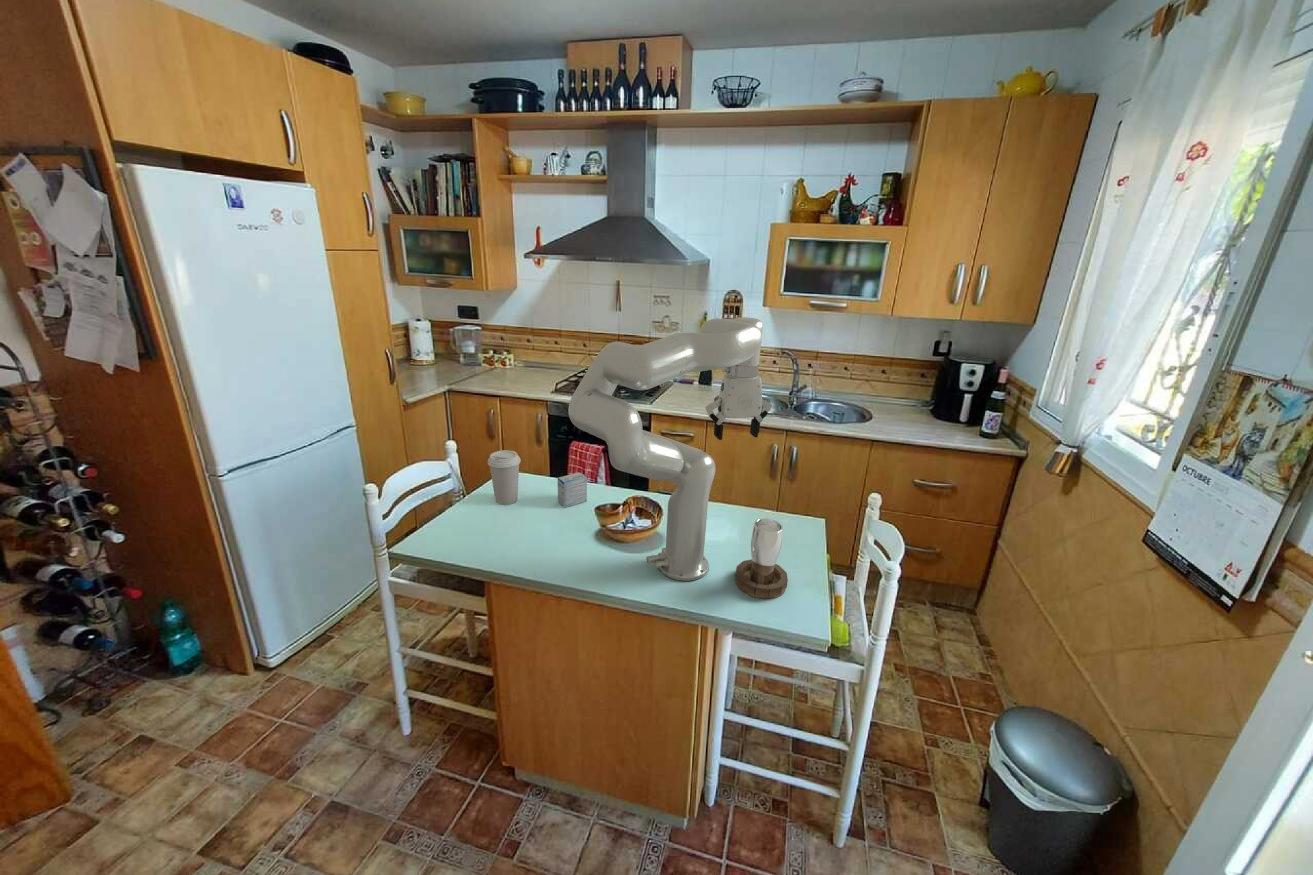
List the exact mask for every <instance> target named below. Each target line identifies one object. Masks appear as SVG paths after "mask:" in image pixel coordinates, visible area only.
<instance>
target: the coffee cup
mask: <svg viewBox="0 0 1313 875" xmlns="http://www.w3.org/2000/svg"><path fill="white" fill-rule="evenodd" d="M521 462H522V461H521V457H520V456H519V455H518V452H516V451H515V450H505V449H503V450H498V451H495V452H492V453H490V454H489V457H488V459H487V465H488V466H489V469H490V476H491V482H492V487H493V492H494V493H493V494H494V498H495V499H494V500H495V503H496V504H498V505H500V506H508V505H513V504H515V503H516V502H518V496H519V495H518V493H519V492H518V491H519V471H520V470H519V469H520V463H521Z"/></svg>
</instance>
